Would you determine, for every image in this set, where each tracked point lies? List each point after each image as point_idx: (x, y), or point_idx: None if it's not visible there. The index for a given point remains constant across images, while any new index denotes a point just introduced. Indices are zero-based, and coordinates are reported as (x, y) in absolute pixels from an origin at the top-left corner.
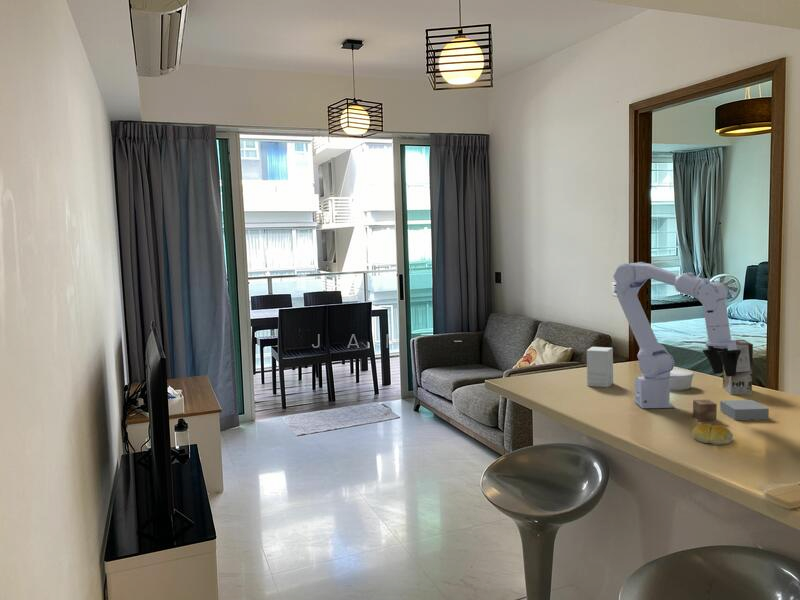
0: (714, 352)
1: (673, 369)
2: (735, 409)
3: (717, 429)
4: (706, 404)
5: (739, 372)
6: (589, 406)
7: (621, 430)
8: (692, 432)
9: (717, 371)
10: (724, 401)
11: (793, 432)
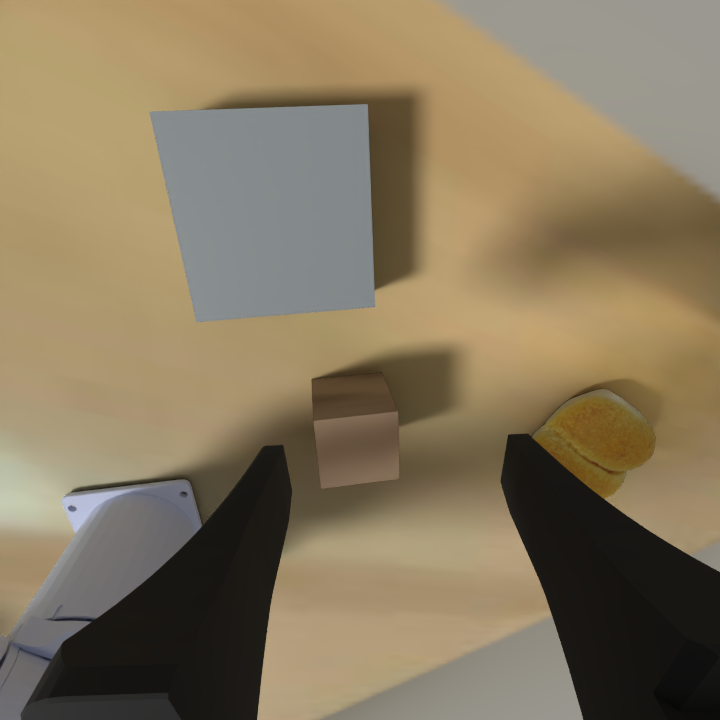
0: (237, 697)
1: None
2: (374, 303)
3: (640, 461)
4: (398, 452)
5: None
6: None
7: (455, 630)
8: None
9: (286, 490)
10: (211, 305)
11: (572, 95)
